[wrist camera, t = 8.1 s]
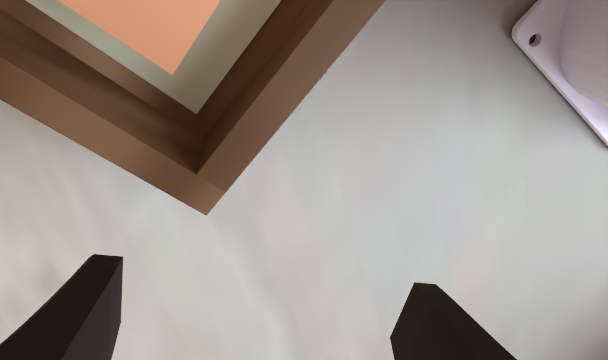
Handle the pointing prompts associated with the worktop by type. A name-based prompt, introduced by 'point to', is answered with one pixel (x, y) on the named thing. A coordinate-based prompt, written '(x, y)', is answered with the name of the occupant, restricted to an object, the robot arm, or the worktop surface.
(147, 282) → the worktop surface
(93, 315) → the robot arm
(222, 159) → the arena
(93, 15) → the cube
